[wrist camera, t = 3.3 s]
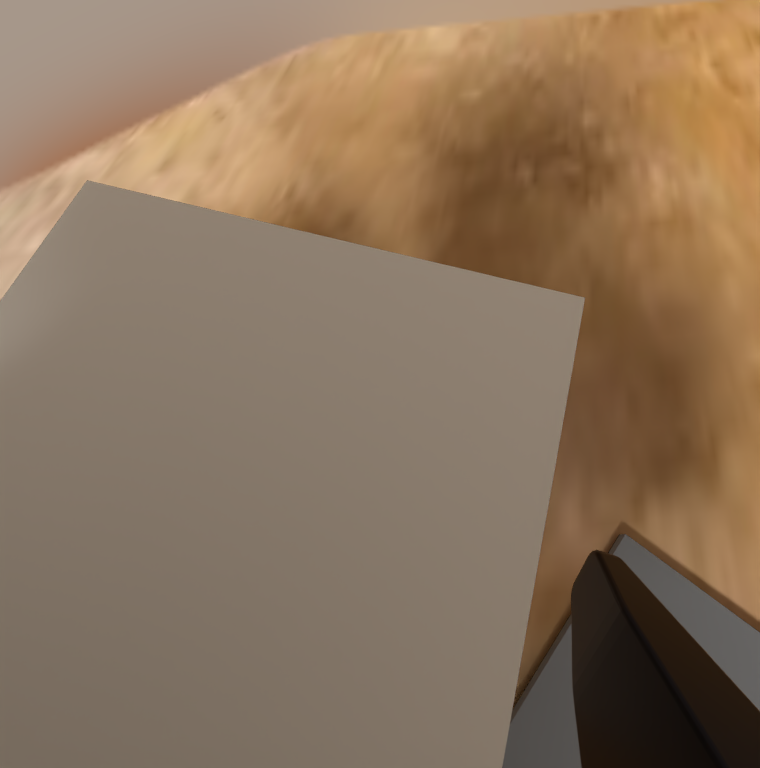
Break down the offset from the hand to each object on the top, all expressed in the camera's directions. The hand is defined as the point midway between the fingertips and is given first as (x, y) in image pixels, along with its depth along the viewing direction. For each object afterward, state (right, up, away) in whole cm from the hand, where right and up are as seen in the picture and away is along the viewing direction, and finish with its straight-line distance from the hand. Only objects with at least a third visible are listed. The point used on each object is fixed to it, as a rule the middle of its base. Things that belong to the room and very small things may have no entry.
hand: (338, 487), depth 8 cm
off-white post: (0, -3, +6) cm, 7 cm away
